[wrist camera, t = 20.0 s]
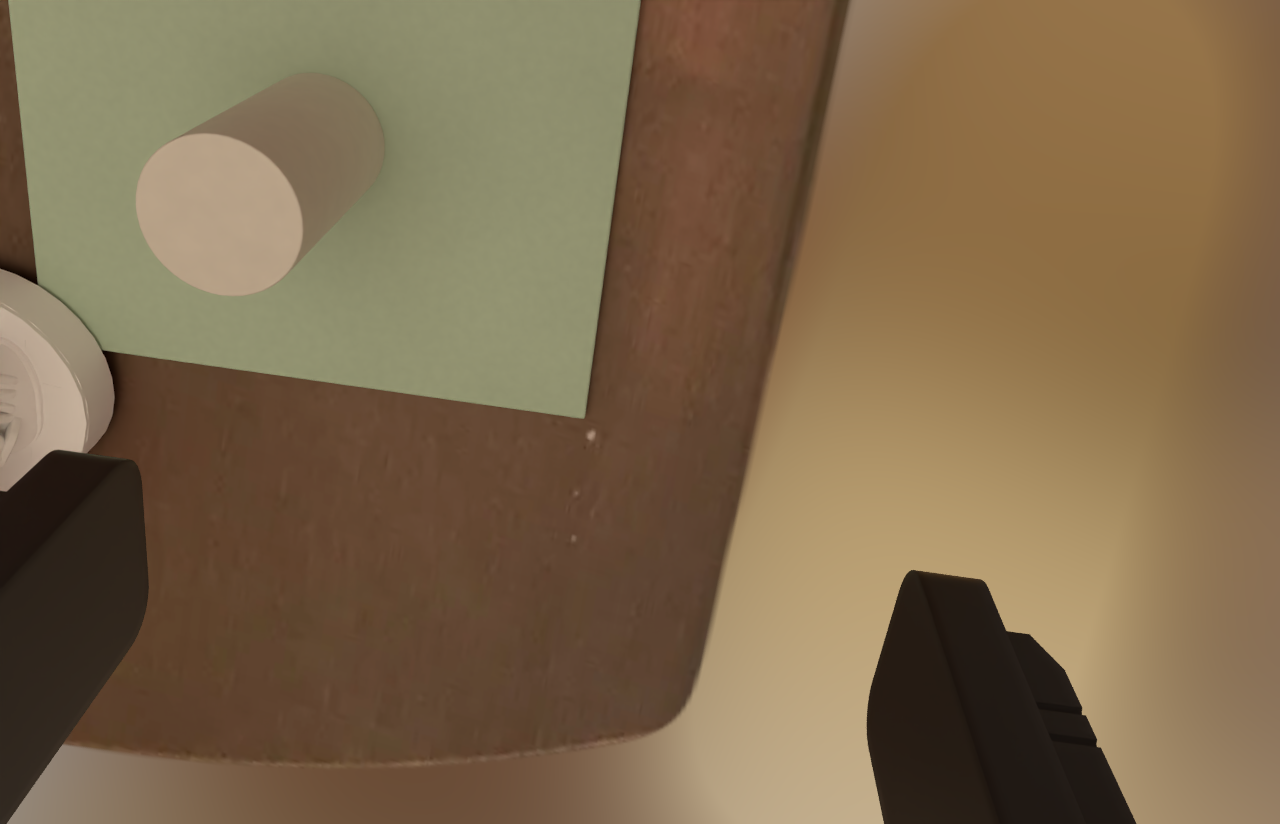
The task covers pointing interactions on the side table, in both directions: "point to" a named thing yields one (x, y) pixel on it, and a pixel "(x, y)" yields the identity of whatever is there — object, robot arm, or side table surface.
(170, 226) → the cylinder
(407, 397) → the side table surface
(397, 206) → the mat
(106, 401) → the character figurine
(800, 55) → the side table surface
